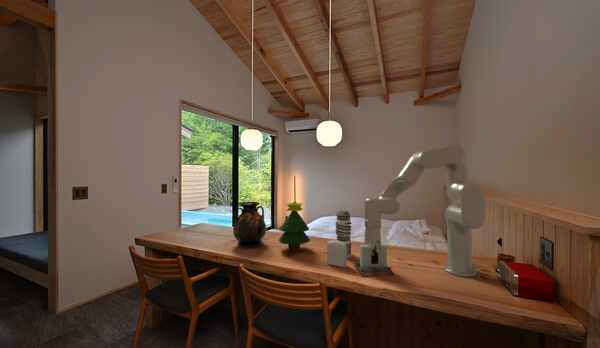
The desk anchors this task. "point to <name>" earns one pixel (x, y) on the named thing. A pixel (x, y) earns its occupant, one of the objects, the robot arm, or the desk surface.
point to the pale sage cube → (366, 257)
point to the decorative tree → (294, 228)
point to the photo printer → (336, 253)
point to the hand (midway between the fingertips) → (373, 261)
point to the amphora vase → (249, 225)
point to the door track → (374, 270)
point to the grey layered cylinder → (344, 229)
